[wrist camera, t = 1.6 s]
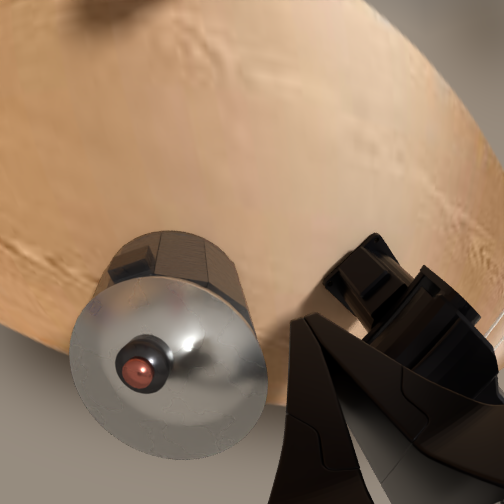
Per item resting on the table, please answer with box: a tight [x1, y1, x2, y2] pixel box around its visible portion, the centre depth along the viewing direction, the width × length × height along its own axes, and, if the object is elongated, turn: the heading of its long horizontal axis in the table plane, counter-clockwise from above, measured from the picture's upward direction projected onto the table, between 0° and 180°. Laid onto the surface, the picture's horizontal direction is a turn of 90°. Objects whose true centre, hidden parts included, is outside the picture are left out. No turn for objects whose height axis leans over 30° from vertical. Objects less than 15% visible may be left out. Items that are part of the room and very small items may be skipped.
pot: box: [93, 231, 257, 337], centre depth 20 cm, size 12×11×6 cm
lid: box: [69, 276, 268, 460], centre depth 13 cm, size 11×11×3 cm
